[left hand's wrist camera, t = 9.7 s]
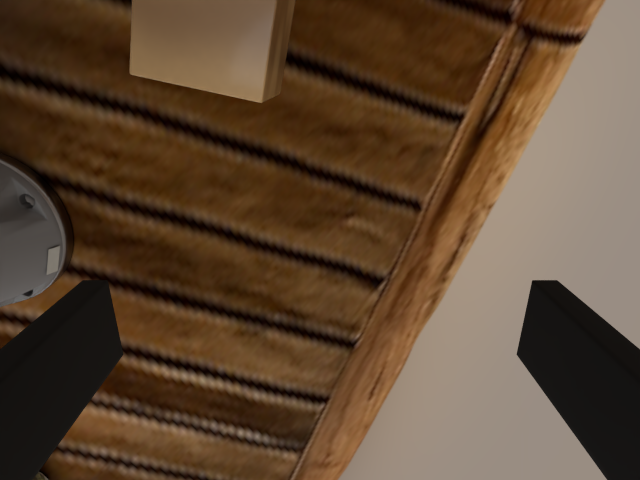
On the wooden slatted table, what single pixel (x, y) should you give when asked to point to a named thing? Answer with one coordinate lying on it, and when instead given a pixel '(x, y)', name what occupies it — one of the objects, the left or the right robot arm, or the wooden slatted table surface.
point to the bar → (213, 44)
